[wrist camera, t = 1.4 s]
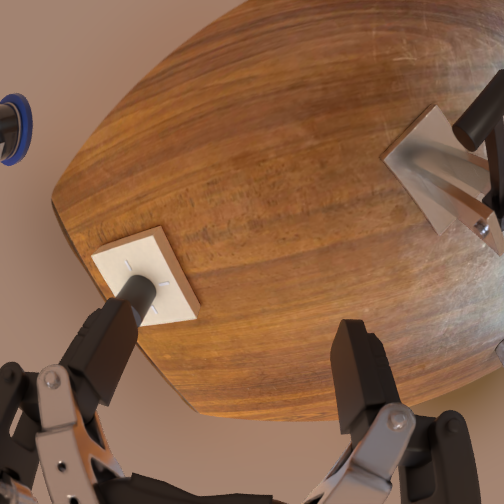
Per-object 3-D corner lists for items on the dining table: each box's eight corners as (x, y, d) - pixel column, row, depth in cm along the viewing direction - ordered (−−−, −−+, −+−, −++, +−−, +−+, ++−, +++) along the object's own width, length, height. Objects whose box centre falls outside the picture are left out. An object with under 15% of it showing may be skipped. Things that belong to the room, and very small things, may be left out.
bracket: (378, 157, 24) (448, 200, 13) (430, 103, 20) (516, 117, 9) (434, 231, 27) (493, 297, 16) (478, 184, 23) (548, 230, 12)
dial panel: (100, 246, 32) (90, 256, 29) (160, 225, 30) (152, 235, 27) (141, 315, 37) (135, 327, 35) (201, 306, 35) (196, 319, 33)
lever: (441, 116, 9) (479, 141, 7) (489, 61, 7) (525, 79, 5) (471, 228, 17) (488, 247, 15) (506, 187, 15) (524, 204, 13)
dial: (121, 278, 31) (102, 305, 26) (146, 271, 30) (128, 300, 25) (137, 303, 32) (120, 331, 28) (162, 298, 32) (146, 329, 27)
